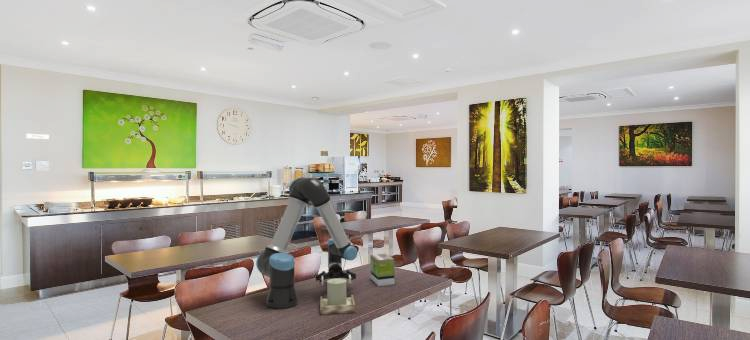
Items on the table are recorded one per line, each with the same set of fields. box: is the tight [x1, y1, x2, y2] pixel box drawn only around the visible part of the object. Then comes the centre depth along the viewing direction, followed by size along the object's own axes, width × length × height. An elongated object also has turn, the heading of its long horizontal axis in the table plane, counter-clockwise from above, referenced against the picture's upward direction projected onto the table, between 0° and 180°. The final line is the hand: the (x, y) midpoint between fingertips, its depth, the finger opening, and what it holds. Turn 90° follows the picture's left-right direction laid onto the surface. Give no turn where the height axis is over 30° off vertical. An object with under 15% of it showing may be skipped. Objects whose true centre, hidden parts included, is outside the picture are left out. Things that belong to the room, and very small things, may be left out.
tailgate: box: [322, 296, 351, 301], centre depth 202 cm, size 16×4×1 cm, turn 97°
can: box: [326, 278, 347, 306], centre depth 192 cm, size 9×9×12 cm
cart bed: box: [319, 294, 356, 315], centre depth 192 cm, size 16×16×4 cm
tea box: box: [369, 253, 396, 287], centre depth 234 cm, size 15×10×15 cm
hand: (336, 281), depth 201 cm, fingers open, 13 cm apart
